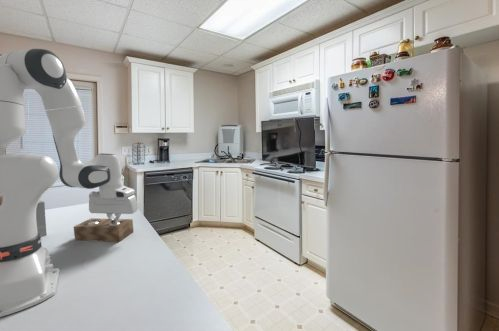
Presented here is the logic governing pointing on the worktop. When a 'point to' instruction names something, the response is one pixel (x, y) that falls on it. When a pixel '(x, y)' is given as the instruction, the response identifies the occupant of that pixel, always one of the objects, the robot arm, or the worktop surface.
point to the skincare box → (41, 218)
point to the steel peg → (93, 222)
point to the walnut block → (103, 230)
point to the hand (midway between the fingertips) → (114, 222)
